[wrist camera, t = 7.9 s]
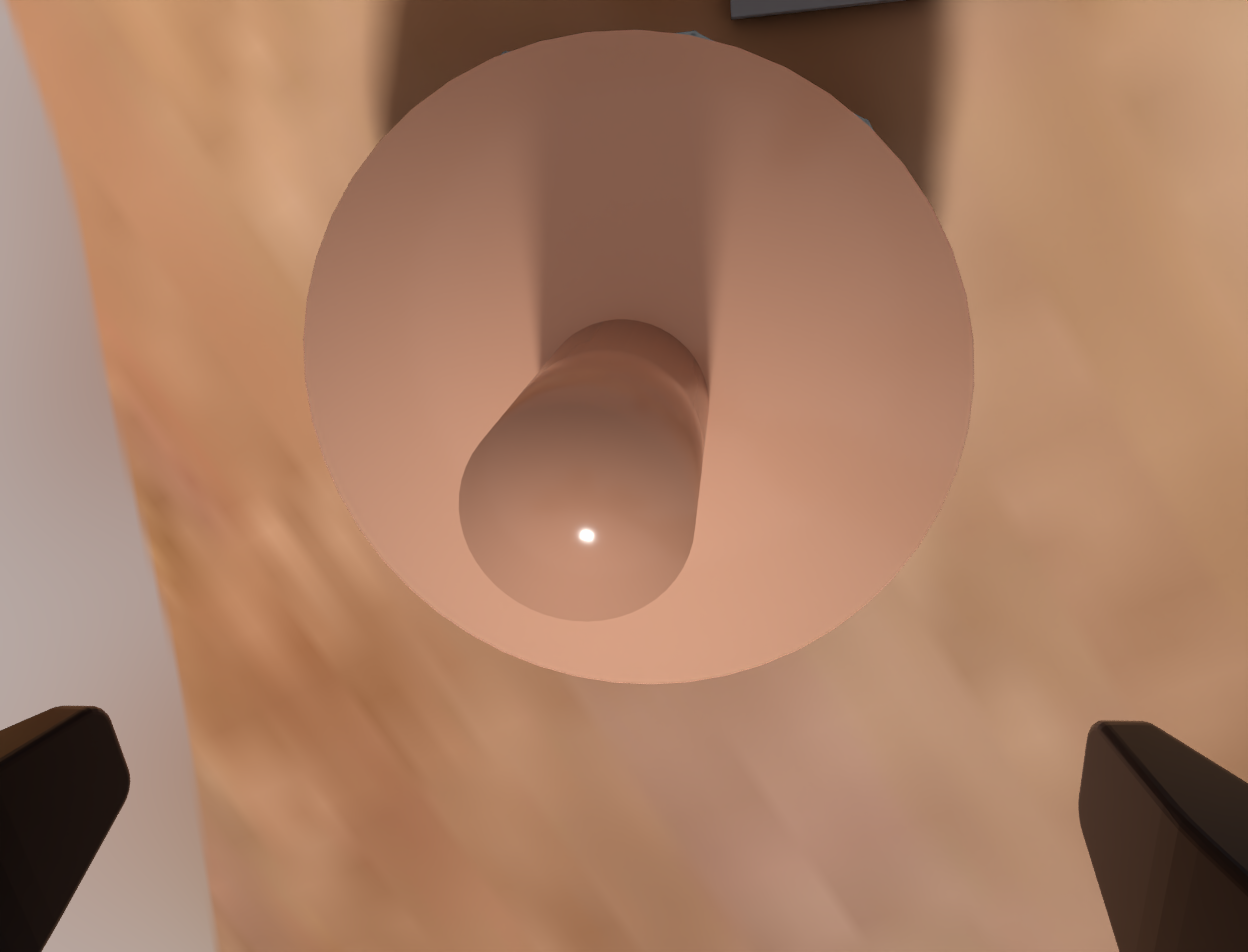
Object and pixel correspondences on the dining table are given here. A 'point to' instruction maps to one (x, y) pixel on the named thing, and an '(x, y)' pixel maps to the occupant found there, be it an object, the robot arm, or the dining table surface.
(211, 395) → the dining table surface
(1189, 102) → the dining table surface
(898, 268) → the lid
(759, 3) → the mat
